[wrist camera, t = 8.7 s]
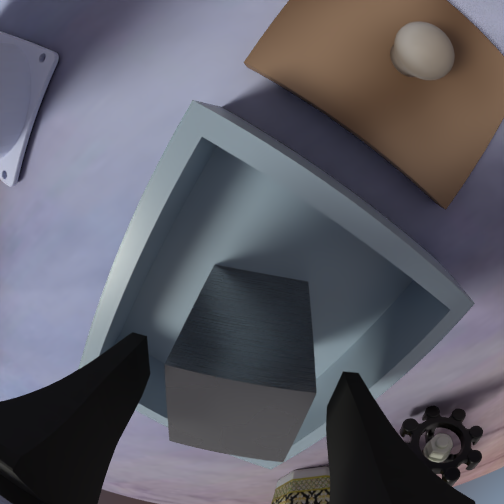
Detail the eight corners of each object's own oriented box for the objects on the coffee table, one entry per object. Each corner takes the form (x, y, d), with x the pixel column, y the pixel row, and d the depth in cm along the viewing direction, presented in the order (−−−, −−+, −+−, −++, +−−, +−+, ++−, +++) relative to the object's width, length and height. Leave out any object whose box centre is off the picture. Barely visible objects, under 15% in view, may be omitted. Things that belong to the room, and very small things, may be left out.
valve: (423, 471, 21) (468, 396, 17) (434, 525, 15) (497, 465, 11) (361, 482, 22) (388, 412, 18) (365, 540, 16) (404, 493, 12)
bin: (109, 330, 17) (77, 373, 14) (221, 106, 12) (193, 100, 8) (275, 419, 19) (270, 469, 15) (437, 260, 13) (474, 303, 10)
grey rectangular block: (207, 337, 16) (169, 440, 10) (214, 264, 14) (164, 364, 8) (288, 352, 15) (283, 462, 10) (308, 281, 14) (316, 393, 8)
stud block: (247, 66, 11) (230, 45, 8) (343, -55, 8) (356, -98, 5) (436, 203, 12) (477, 231, 9) (511, 80, 9) (559, 78, 6)
